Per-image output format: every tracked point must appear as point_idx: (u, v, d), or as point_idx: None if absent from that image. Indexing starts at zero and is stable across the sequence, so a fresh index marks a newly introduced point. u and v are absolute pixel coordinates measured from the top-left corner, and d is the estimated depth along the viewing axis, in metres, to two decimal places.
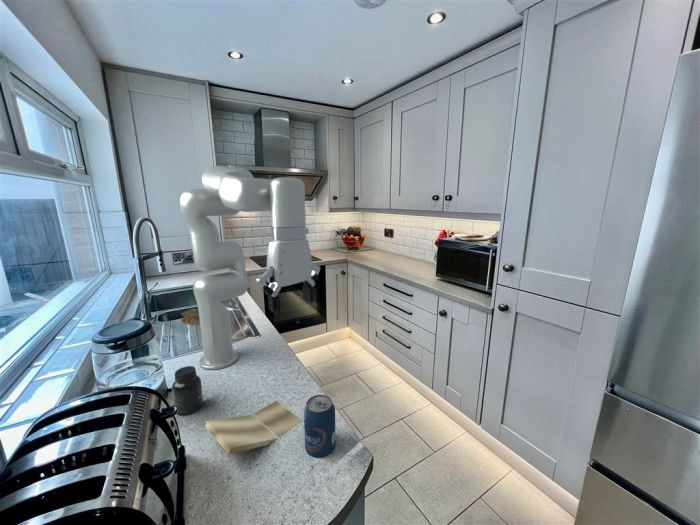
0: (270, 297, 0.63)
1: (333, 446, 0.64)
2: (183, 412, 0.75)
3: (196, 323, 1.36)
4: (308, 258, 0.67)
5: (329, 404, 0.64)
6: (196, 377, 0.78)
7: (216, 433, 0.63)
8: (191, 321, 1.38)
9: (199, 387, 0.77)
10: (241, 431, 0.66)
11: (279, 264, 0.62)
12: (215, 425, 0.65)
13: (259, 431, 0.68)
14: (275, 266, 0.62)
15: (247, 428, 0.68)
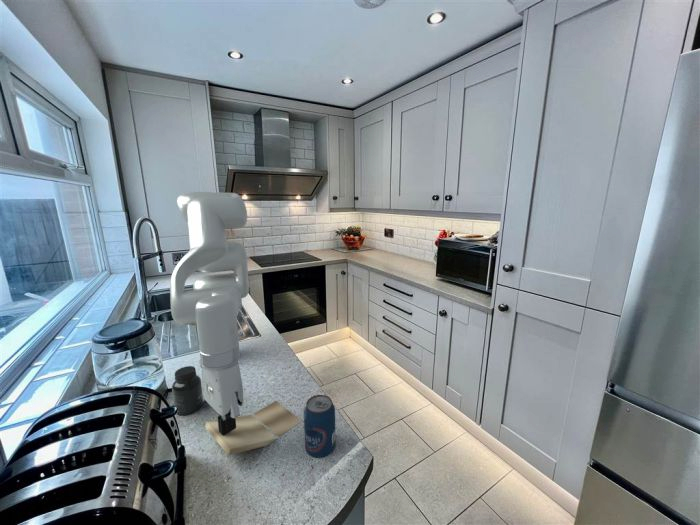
0: (229, 418, 0.63)
1: (333, 446, 0.64)
2: (183, 412, 0.75)
3: None
4: None
5: (329, 404, 0.64)
6: (196, 377, 0.78)
7: (216, 434, 0.63)
8: None
9: (199, 387, 0.77)
10: (240, 431, 0.66)
11: (241, 383, 0.60)
12: (215, 426, 0.65)
13: (258, 431, 0.68)
14: (239, 388, 0.60)
15: (247, 428, 0.68)
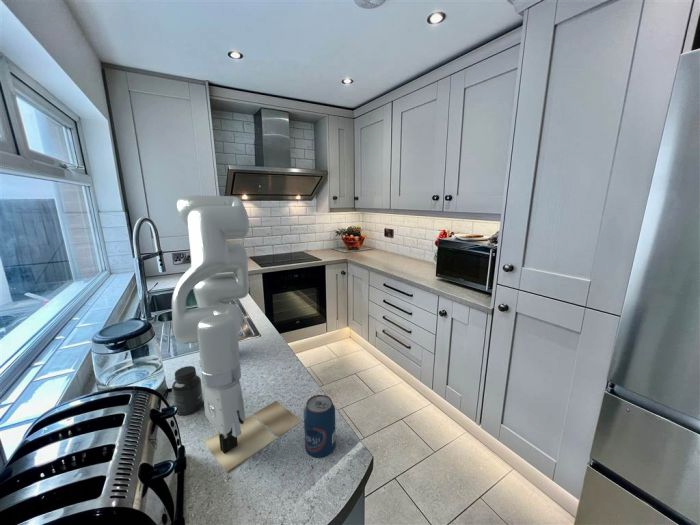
0: (231, 436, 0.63)
1: (333, 446, 0.64)
2: (183, 412, 0.75)
3: None
4: None
5: (329, 404, 0.64)
6: (196, 377, 0.78)
7: (213, 454, 0.63)
8: None
9: (199, 387, 0.77)
10: (239, 442, 0.66)
11: (243, 402, 0.61)
12: (212, 444, 0.65)
13: (258, 436, 0.68)
14: (241, 407, 0.60)
15: (246, 436, 0.68)
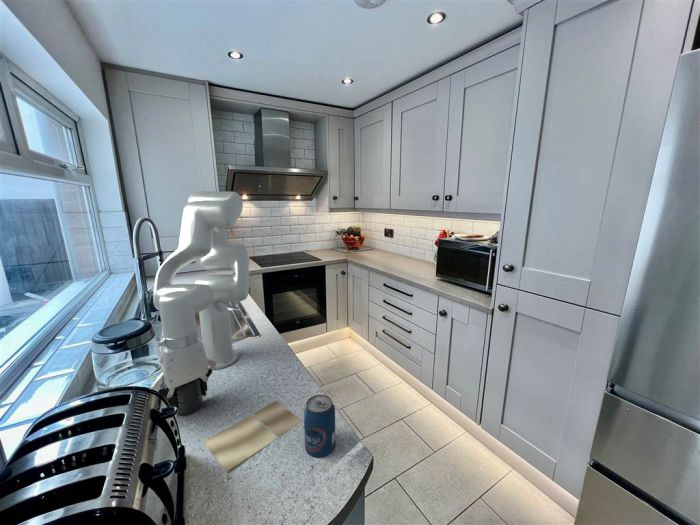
0: None
1: (333, 446, 0.64)
2: (182, 412, 0.75)
3: (196, 323, 1.36)
4: None
5: (329, 404, 0.64)
6: None
7: (213, 454, 0.63)
8: None
9: (199, 387, 0.77)
10: (239, 442, 0.66)
11: None
12: (212, 444, 0.65)
13: (258, 436, 0.68)
14: None
15: (246, 436, 0.68)
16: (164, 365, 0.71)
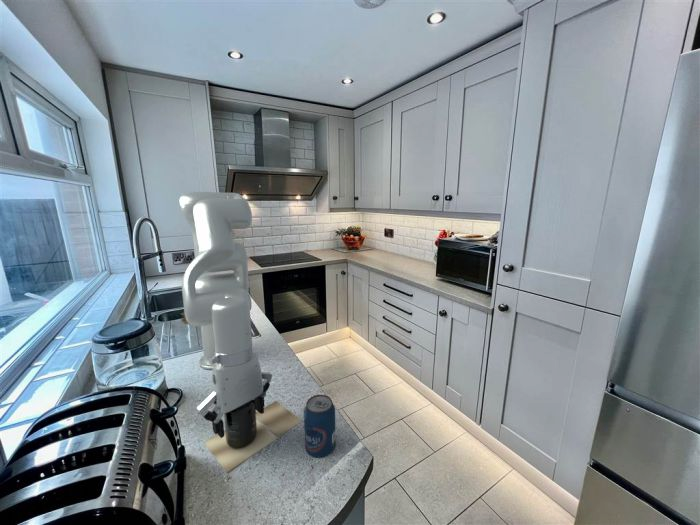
0: None
1: (333, 446, 0.64)
2: (237, 441, 0.64)
3: None
4: None
5: (329, 404, 0.64)
6: None
7: None
8: None
9: (254, 411, 0.66)
10: None
11: None
12: (212, 445, 0.65)
13: (258, 436, 0.68)
14: None
15: None
16: (218, 386, 0.59)
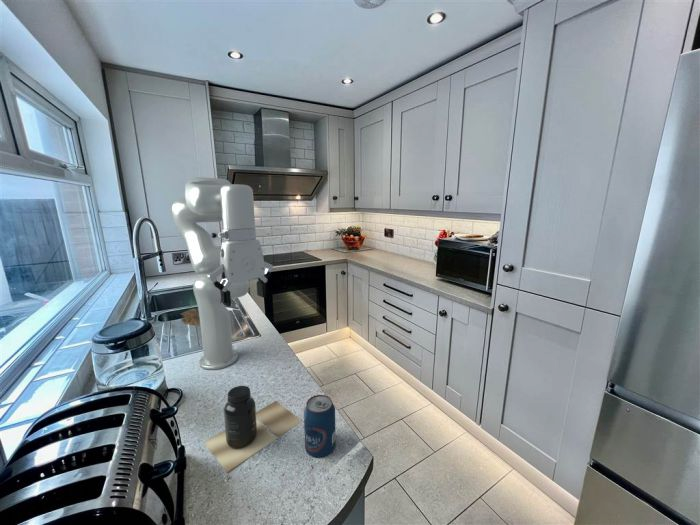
0: None
1: (333, 446, 0.64)
2: (237, 441, 0.64)
3: (196, 323, 1.36)
4: None
5: (329, 404, 0.64)
6: (250, 399, 0.67)
7: None
8: (191, 321, 1.38)
9: (254, 411, 0.66)
10: None
11: None
12: (212, 445, 0.65)
13: (258, 436, 0.68)
14: None
15: None
16: (226, 257, 0.69)
